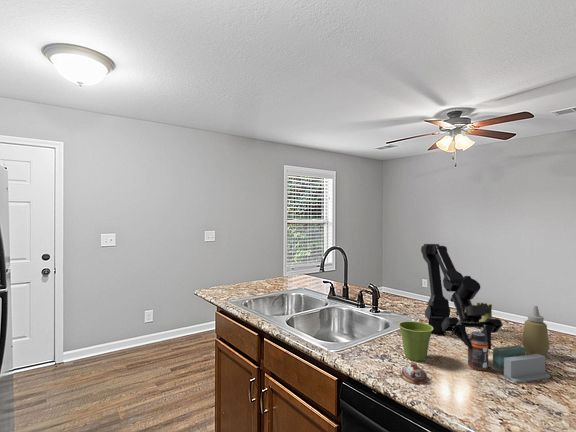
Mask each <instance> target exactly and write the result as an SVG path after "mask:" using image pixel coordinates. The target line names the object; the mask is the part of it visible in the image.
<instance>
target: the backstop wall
mask: <svg viewBox="0 0 576 432" xmlns="http://www.w3.org/2000/svg"><path fill="white" fill-rule="evenodd" d="M503 377H504V378H505V379H508V380H510V381H511V382H513V383H515V384H519V383H525V382H532V381H539V380H546V379H551V374H549V373H546V356H542V355H540V354H532V355H528V354H525V355H524V356H515V357H507V358H504V371H503Z"/></svg>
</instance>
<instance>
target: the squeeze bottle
mask: <svg viewBox="0 0 576 432" xmlns="http://www.w3.org/2000/svg"><path fill="white" fill-rule="evenodd" d="M538 306H539V305H538ZM538 306H537V305H533V306H532V310H531V313H530V314H527V320H525V321H524V324H523V331H522V332H523V333H522V340H521V344H522V347H524V348H525V355H532V354H540V355H542V356H545V357H546V356H547V354H548V352H549V350H550V341H549V333H548V325H547V324H546V322H544V317H543V316H542V315H541V314H540V310H539V307H538Z"/></svg>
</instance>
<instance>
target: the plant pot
mask: <svg viewBox="0 0 576 432" xmlns="http://www.w3.org/2000/svg"><path fill="white" fill-rule="evenodd" d="M428 324H429V323H424V322H420V321H412V320H409V321H408V320H407V321H400V322H398V325H397V326H398V327H399V330H400V334H401V339H402V346H403V353H404V356H405V357H406V358H407V359H408V360H411V361H415V362H416V361H417V362H419V361H422V362H423V361H426V360H427V359H428V357H427V356H428V352H429V351H428V350H429V345H430V339H431V336H432V334H431V332H432V331H433V327H432V326H430V325H428Z"/></svg>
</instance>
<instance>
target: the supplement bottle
mask: <svg viewBox="0 0 576 432" xmlns="http://www.w3.org/2000/svg"><path fill="white" fill-rule="evenodd" d="M470 333H471V335H470V337H468V338H469V340H470V343H471V346H472V349H469V348H468V347H467V365H468V367H470V368H472V369H474V370H477V371H487V370H488V369H489V366H488V354H489V349H488V342H487V341H486V340H485V334H483V333H481V332H479V331H472V332H470Z"/></svg>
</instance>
